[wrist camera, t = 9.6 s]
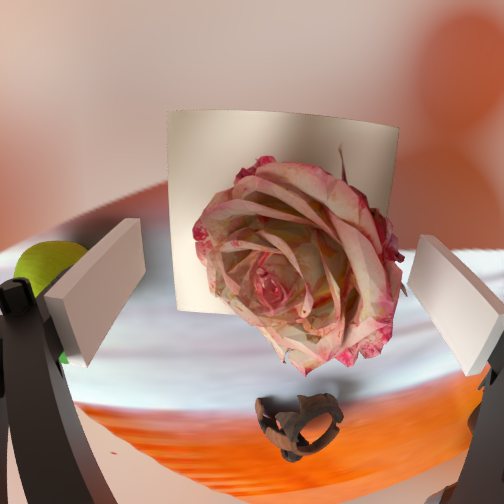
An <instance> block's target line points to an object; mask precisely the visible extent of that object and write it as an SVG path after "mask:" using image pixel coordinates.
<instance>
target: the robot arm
mask: <svg viewBox="0 0 504 504" xmlns="http://www.w3.org/2000/svg"><path fill="white" fill-rule="evenodd" d="M145 273H146V268H145V260H144V252H143V243H142V234H141V223H140V218H125V219H124V220H122V221H121V222H120V223H119V224H118V225H117V226H116V227H115V228H113V229H112V230H111V231H110V232H109V233H108V234H107V235H106V236H104V237H103V238H102V239H101V240H100V241H99V242H98V243H97V244H96V245H95V246H94V247H92V248H91V249H90V250H89V251H88V252H87V253H86V254H85V255H84V256H83V257H82V258H81V259H80V260H79V261H78V262H77V263H76V264H73V265H71V266H69V267H68V268H66V269H64V270H63V271H61V272H60V273H59V274H58V275H57V276H56V279H55V278H54V279H53V280H52V281H51V282H50V284H48V285H47V286H46V287H45V288H44V289H43V290H42V291H41V292H40V293H39V294H38V296H37V297H36V298H35V296H34V293H33V290H32V287H31V283H30V281H29V279H27V278H25V277H17V278H12V279H10V280H7V281H5V282H4V283H2V284H1V285H0V309H1V311H2V314H3V315H0V504H8V497H7V442H8V428H9V427H10V433H11V438H12V444H13V449H14V454H15V458H16V463H17V467H18V471H19V475H20V479H21V482H22V486H23V489H24V493H25V496H26V499H27V502H28V504H118V503H117V502H116V500H115V498H114V496H113V494H112V492H111V490H110V488H109V487H108V485H107V483H106V481H105V479H104V477H103V474H102V472H101V470H100V468H99V466H98V464H97V462H96V459H95V457H94V455H93V453H92V450H91V448H90V446H89V443H88V441H87V438H86V436H85V433H84V431H83V428H82V426H81V423H80V420H79V418H78V415H77V412H76V409H75V406H74V403H73V400H72V397H71V394H70V391H69V388H68V385H67V381H66V378H65V374H64V371H63V367H62V364H61V362H60V360H59V357H60V356H61V354H62V353H63V351H64V353H65V355H66V357H67V360H68V362H69V364H73V365H77V366H82V367H86V368H87V367H88V366H89V364H90V362H91V360H92V359H93V357H94V355H95V353H96V352H97V350H98V348H99V347H100V345H101V343H102V341H103V340H104V338H105V336H106V335H107V333H108V331H109V330H110V328H111V326H112V325H113V323H114V321H115V320H116V318H117V317H118V315H119V313H120V312H121V310H122V308H123V307H124V305H125V304H126V302H127V300H128V299H129V297H130V296H131V294H132V293H133V291H134V289H135V288H136V286H137V285H138V283H139V282H140V280H141V279H142V277H143V276H144V274H145ZM407 285H408V286H409V288H410V289H411V290H412V292H413V293H414V295H415V296H416V298H417V299H418V300H419V302H420V303H421V305H422V306H423V308H424V309H425V311H426V312H427V314H428V315H429V317H430V318H431V320H432V321H433V323H434V325H435V326H436V328H437V329H438V331H439V332H440V334H441V335H442V337H443V339H444V340H445V342H446V343H447V345H448V347H449V348H450V350H451V352H452V353H453V355H454V357H455V358H456V360H457V362H458V363H459V365H460V367H461V369H462V370H463V372H464V374H465V375H466V376H471V375H476V374H480V373H481V371H482V369H483V368H484V366H485V364H486V363H487V361H488V362H489V364H490V366H491V368H490V370H489V372H488V373H487V375H486V376H485V378H484V380H483V381H482V383H481V384H480V386H479V388H478V390H480V389H481V388H482V387H483V386H485V388H484V390H483V392H484V393H483V398H482V402H481V404H480V405H479V406H478V407H477V408H476V409H475V410H474V412H473V413H472V414H471V416H470V418H469V420H468V427H469V429H470V431H471V433H472V435H473V437H472V441H471V444H470V447H469V451H468V454H467V457H466V460H465V463H464V466H463V469H462V471H461V474H460V477H459V479H458V482H456V483H454V484H452V485H450V486H446V487H445V488H444V489H443V490H441V491H439V492H437V493H435V494H433V495H431V496H430V497H429V498H428V499H427V500H426V501H425V503H424V504H504V304H503V303H502V301H501V300H500V299H499V298H498V297H497V296H496V295H495V294H494V293H493V292H492V291H491V290H490V289H489V288H488V287H487V286H486V285H485V284H484V283H483V282H482V281H481V280H480V279H479V278H478V277H477V276H476V275H475V274H474V273H473V272H472V271H471V270H470V269H469V268H468V267H467V266H466V265H465V264H464V263H463V262H462V261H461V260H460V259H459V258H458V257H456V256H455V255H454V254H453V253H452V252H451V251H450V250H449V249H448V248H446V246H444V245H443V244H442V243H441V242H440V241H439V240H438V239H437V238H435V237H434V236H433V235H422V234H420V238H419V242H418V246H417V250H416V254H415V258H414V262H413V265H412V269H411V272H410V276H409V279H408V283H407Z"/></svg>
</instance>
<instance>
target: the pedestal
mask: <svg viewBox="0 0 504 504" xmlns="http://www.w3.org/2000/svg"><path fill="white" fill-rule="evenodd" d="M398 136H399V128H398V127H392V126H388V125H382V124H376V123H371V122H364V121H358V120H352V119H345V118H337V117H329V116H320V115H311V114H310V115H309V114H300V113H287V112H272V111H251V110H181V111H167V158H168V193H169V214H170V231H171V246H172V259H173V271H174V282H175V292H176V302H177V310H180V311H192V312H205V313H219V314H235V315H237V314H236V313H235V312H234V311H233V310H231V309H230V308H229V307H228V306H226V305H225V304H224V303H223V302H222V301H221V300H220V299H219V298H220V297H217V298H215V297H214V296H213V295H212V294H211V293H210V290H209V285H208V280H207V271H206V270H207V268H206V267H205V266H204V265H202V263H201V261H200V260H199V259H198V257H197V254H196V248H195V242H198V241H196V240H195V239H194V238H193V233H192V229H193V226H194V224H195V223H196V221H197V220H198V219H199V217H200V216H201V214H202V212H203V209H205V208H206V206H207V205H208V204H209V202H210V201H211V199H212V198H213V197H214V195H215V194H216V193H218V192H221V191H224V190H227V189H230V188H233V187H234V183H233V182H234V180H235V177H236V175H237V174H238V173H239V172H240V170H241V168H242V167H243V168H245V169H248V168H250V167H252V166H253V165H254V164H255V163H256V162H257V161H256V160H255V159H259V158H260V157H261V156H265V155H266V156H273V157H274V158H275V159H276V161H277V163H282V162H299V163H304V164H309V165H314V166H319V167H322V168H323V170H324V171H327V172H329V173H330V174H332V176H334V177H336V178H338V179H342V160H341V157H340V153H339V151H338V148H339V145H340V143H341V141H342V156H343V162H344V167H345V172H346V179H347V182H348V186H349V185H352V186H353V187H355V188H356V189H358V190H359V191H361V192H362V193H363V194H365V195H366V196H367V200H368V204H369V206H370V208H378V209H379V211H380V214H381V215H382V216H384V217H385V218H387V213H388V207H389V201H390V195H391V189H392V182H393V175H394V169H395V161H396V153H397V145H398Z"/></svg>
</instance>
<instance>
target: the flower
mask: <svg viewBox="0 0 504 504" xmlns="http://www.w3.org/2000/svg"><path fill="white" fill-rule="evenodd" d="M338 151H339V153H340V157H341V160H342V179H338V178H336V177H334V176H332V174H330V173H329V172H327V171H324V170H323V168H322V167H319V166H314V165H309V164H304V163H299V162H282V163H277V161H276V159H275V158H274V157H273V156H266V155H265V156H261V157H260V158H259V159H255V160H256V161H257V162H256V163H255V164H254V165H253V166H252V167H250V168H248V169H245V168H243V167H242V168H241V170H240V172H239V173H238V174H237V175H236V177H235V180H234V182H233V183H234V187H233V188H230V189H227V190H224V191H221V192H218V193H216V194H215V195H214V197H213V198H212V199H211V201H210V202H209V204H208V205H207V206H206V208H205V209H203V212H202V214H201V216H200V217H199V219H198V220H197V221H196V223H195V224H194V226H193V229H192V233H193V238H194V239H195V240H196V241H198V242H195V248H196V254H197V257H198V259H199V260H200V261H201V263H202V265H204V266H205V267H206V268H207V270H206V271H207V280H208V285H209V290H210V293H211V294H212V295H213V296H214V297H215V298H217V297H220V298H219V299H220V300H221V301H222V302H223V303H224V304H225V305H226V306H228V307H229V308H230V309H231V310H233V311H234V312H235V313H236V314H237V315H239V316H240V317H241V318H242V319H243V320H245V321H246V322H247V323H248V324H250V325H252V326H256V327H257V328H258V329H259V330H260V331H261V332H262V334H263V335H264V336H265V337H266V338H267V339H268V341H269V342H270V343H271V345H272V346H273V348H274V349H275V351H276V352H277V354H278V355H279V357H280V359H281V360H282V362H283V363H286V362H285V361H284V355H285V353H286V352H287V351H289V350H290V349H292V350H291V351H290V353H289V356H288V357H289V359H290V361H291V363H292V364H293V365H295V366H296V367H297V368H298V370H299V371H300V372H301V373H302V374H303V375H304V376H305V377H306V375H307V374H308V373H309V372H310V371H312V370H313V369H315V368H317V367H319V366H321V365H322V364H324V363H326V362H328V361H330V360H331V359H333V358H336V359H337V360H338V361H340V362H341V363H343V364H344V365H345V366H347V367H351V366H353V365H354V363H355V362H356V360H357V358H358V352H359V351H360V353H361V354H362V355H363V357H364V358H365V359H366V358H373V357H375V356H377V355H379V354H381V350H382V348H383V345H384V344H387V342H388V341H389V340H390V338H391V337H392V330H393V318H394V313H395V310H396V306H397V302H398V298H399V292H400V289H402V291H403V292H404V294H405V295H406V296H407V293H406V289H405V286H404V285H403V284H402V282H401V279H402V270H401V269H400V268H399V267H398V266H397V265H396V264H395V263H394V262H395V261H398V262H399V263H401V262H403V261H404V258H405V257H404V256H403V255H401V254H400V253H399V252H398V240H397V238H396V236H395V235H393V234H392V228H393V225H392V223H391V222H390V220H389V219H388V218H385V217H384V216H382V215H381V214H380V211H379V209H378V208H370V206H369V204H368V200H367V196H366V195H365V194H363V193H362V192H361V191H359V190H358V189H356V188H355V187H353V186H352V185H349V186H348V182H347V179H346V172H345V167H344V162H343V156H342V141H341V143H340V145H339V148H338ZM407 297H408V296H407ZM389 325H390V326H391V327H390V326H389ZM379 341H380V342H379ZM381 342H382V343H381ZM383 343H384V344H383Z"/></svg>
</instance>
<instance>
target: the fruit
mask: <svg viewBox="0 0 504 504" xmlns="http://www.w3.org/2000/svg"><path fill="white" fill-rule="evenodd" d="M87 252H88V250H87V249H86V248H85V247H83V246H81V245H79V244H77V243H74V242H68V241H46V242H41V243H38V244H36V245H34V246H32V247H30V248H29V249H27V250H26V251H25V252H24V253H23V254H22V255H21V257H20V258H19V260H18V262H17V265H16V268H15V272H14V277H13V278H17V277H25V278H27V279H29V281H30V283H31V287H32V290H33V293H34V296H35V298H36V297H37V296H38V294H39V293H40V292H41V291H42V290H43V289H44V288H45V287H46V286H47V285H48V284H50V282H51V281H52V280H53V279H54V278H55V279H56V276H57V275H58V274H59V273H60V272H61V271H63V270H64V269H66V268H68V267H69V266H71V265H73V264H76V263H77V262H78V261H79V260H80V259H81V258H82V257H83V256H84V255H85V254H86V253H87ZM59 360H60V362H61V363H64V364H69V362H68V360H67V357H66V355H65V353H64V351H63V353H62V354H61V356H60V357H59Z"/></svg>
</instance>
